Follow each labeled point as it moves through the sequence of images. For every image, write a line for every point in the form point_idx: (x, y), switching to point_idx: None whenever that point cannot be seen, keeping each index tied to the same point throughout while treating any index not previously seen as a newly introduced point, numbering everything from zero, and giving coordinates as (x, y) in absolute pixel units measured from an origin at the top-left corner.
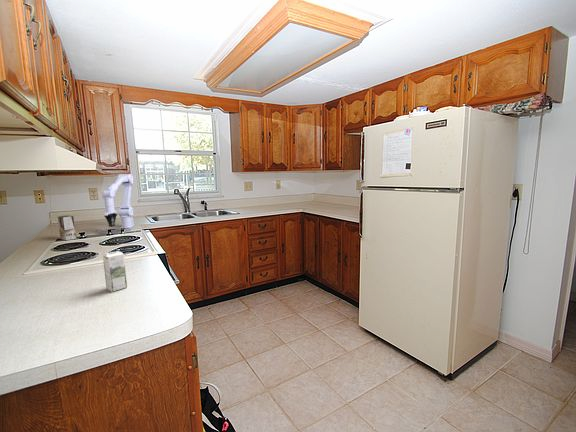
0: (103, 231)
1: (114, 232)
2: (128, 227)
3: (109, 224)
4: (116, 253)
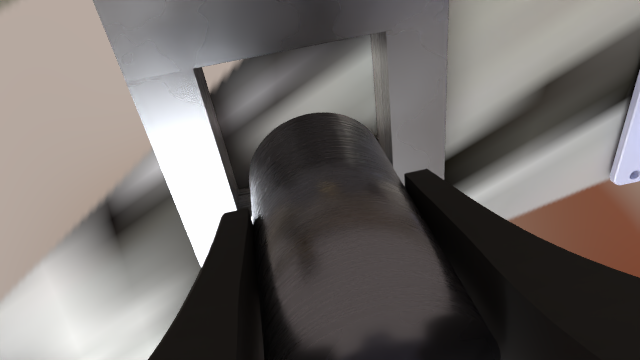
0: (113, 42)
1: None
2: (626, 159)
3: (253, 204)
4: None
